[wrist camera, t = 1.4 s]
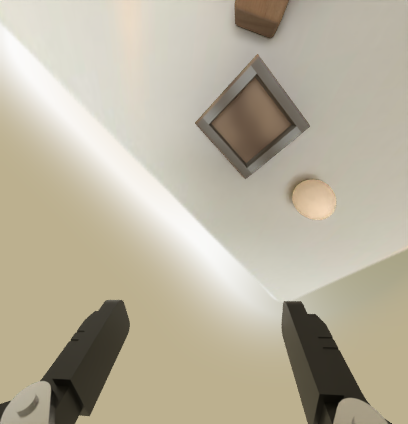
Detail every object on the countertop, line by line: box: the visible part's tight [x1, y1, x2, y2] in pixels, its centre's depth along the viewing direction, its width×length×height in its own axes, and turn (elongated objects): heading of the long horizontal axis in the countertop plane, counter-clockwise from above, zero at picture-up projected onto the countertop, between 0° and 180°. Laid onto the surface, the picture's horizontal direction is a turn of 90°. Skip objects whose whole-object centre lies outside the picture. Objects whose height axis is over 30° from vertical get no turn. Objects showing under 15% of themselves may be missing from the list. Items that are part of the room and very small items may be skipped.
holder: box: [195, 54, 310, 179], centre depth 25 cm, size 10×10×4 cm
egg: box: [292, 179, 336, 220], centre depth 26 cm, size 5×5×7 cm
